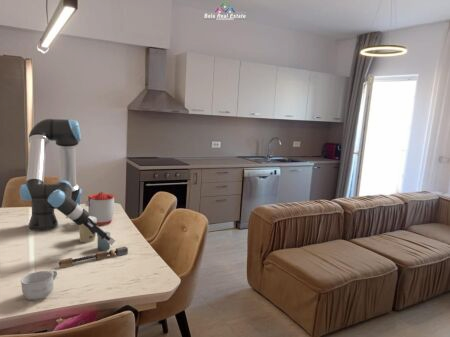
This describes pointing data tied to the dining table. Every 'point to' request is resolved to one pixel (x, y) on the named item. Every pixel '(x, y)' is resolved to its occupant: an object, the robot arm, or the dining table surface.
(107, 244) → the dome-topped knob
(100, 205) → the citrus juicer
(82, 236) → the coffee cup
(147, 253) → the dining table surface
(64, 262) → the cord rig
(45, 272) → the teacup
